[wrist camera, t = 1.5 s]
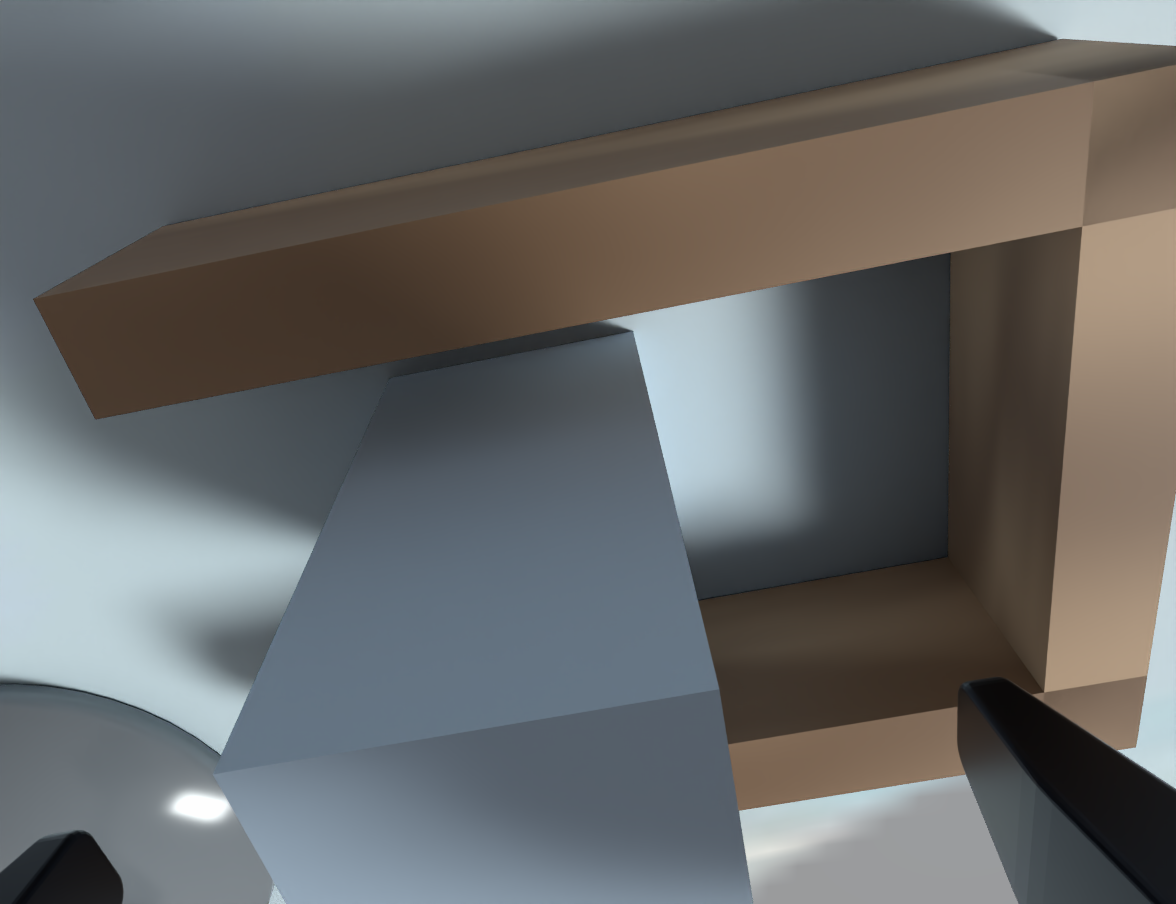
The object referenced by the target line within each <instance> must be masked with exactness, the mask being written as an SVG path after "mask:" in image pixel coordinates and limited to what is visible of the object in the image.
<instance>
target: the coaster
mask: <svg viewBox="0 0 1176 904" xmlns="http://www.w3.org/2000/svg"><path fill="white" fill-rule="evenodd" d="M220 757H221V756H220V755H219V754H217V753H216V752H215V751H213V750H212V749H210V748H209V747H208V746H206V745H205V744H204V743H202V742H201V741H199V740H198V739H197V738H195V737H193V736H191V735H190V734H188V733H186V732H185V731H183V730H181V729H179V728H178V727H176V726H174V725H172V724H171V723H168V722H166V721H164V720H162V719H160V718H158V717H155V716H153V715H151V714H149V713H147V712H144V711H142V710H139V709H136V708H134V707H131V706H128V705H125V704H122V703H119V702H117V701H114V700H110V699H106V698H103V697H99V696H95V695H91V694H87V693H83V692H78V691H72V690H66V689H60V688H54V687H47V686H34V685H20V684H5V685H0V872H1V871H2V870H3V869H5V868H6V867H7V866H8V865H9V864H10V863H12V862H13V861H14V860H15V859H16V858H17V857H18V856H20V855H21V854H22V853H23V852H24V851H25V850H26V849H28V848H29V847H30V846H31V845H32V844H33V843H35V842H36V841H37V840H38V839H40V838H42V837H44V836H47V835H50V834H55V833H61V832H67V831H73V830H84V831H86V832H88V833H90V834H91V835H92V836H93V837H94V839H95V840H96V841H97V843H98V844H99V846H100V847H101V849H102V850H103V852H104V853H105V854H106V856H107V857H108V859H109V860H110V862H111V863H112V865H113V866H114V867H115V869H116V870H117V872H118V873H119V875H120V877H121V879H122V882H123V889H124V895H123V904H268V903H269V900H270V897H271V894H272V891H273V888H274V884H275V883H274V881H273V879H272V878H271V876H270V874H269V872H268V871H267V869H266V867H265V865H264V864H263V862H262V860H261V858H260V857H259V855H258V853H257V851H256V850H255V848H254V846H253V844H252V843H251V841H250V839H249V837H248V836H247V834H246V832H245V830H244V828H243V827H242V825H241V823H240V821H239V820H238V818H237V816H236V814H235V813H234V811H233V809H232V807H231V806H230V804H229V802H228V800H227V799H226V797H225V795H224V793H223V792H222V790H221V788H220V786H219V785H218V783H217V781H216V779H215V778H214V776H213V773H214V771H215V768H216V766H217V764H218V762H219V759H220Z"/></svg>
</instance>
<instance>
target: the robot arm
mask: <svg viewBox="0 0 1176 904" xmlns="http://www.w3.org/2000/svg"><path fill="white" fill-rule="evenodd" d="M957 746H958V752H959V756H960V760H961V763H962V766H963V768H964V771H965V773H966V776H967V778H968V781H969V783H970V786H971V788H972V791H973V793H974V796H975V798H976V800H977V803H978V805H979V808H980V810H981V813H982V815H983V818H984V820H985V823H986V825H987V828H988V830H989V833H990V835H991V838H992V840H993V842H994V845H995V847H996V850H997V852H998V854H999V857H1000V860H1001V862H1002V864H1003V867H1004V869H1005V872H1006V874H1007V877H1008V879H1009V882H1010V884H1011V887H1012V889H1013V892H1014V894H1015V896H1016V899H1017V901H1018V903H1019V904H1176V789H1175V788H1174V787H1172V786H1170V785H1169V784H1167V783H1166V782H1164V781H1163V780H1161V779H1160V778H1158V777H1157V776H1155V775H1154V774H1152V773H1151V772H1149V771H1148V770H1146V769H1145V768H1143V767H1142V766H1140V765H1138V764H1137V763H1135V762H1134V761H1132V760H1131V759H1129V758H1128V757H1126V756H1125V755H1123V754H1122V753H1120V752H1119V751H1117V750H1116V749H1114V748H1113V747H1111V746H1110V745H1108V744H1106V743H1105V742H1103V741H1102V740H1100V739H1099V738H1097V737H1096V736H1094V735H1093V734H1091V733H1090V732H1088V731H1087V730H1085V729H1084V728H1082V727H1081V726H1079V725H1077V724H1076V723H1074V722H1073V721H1071V720H1070V719H1068V718H1067V717H1065V716H1064V715H1062V714H1061V713H1059V712H1058V711H1056V710H1055V709H1053V708H1052V707H1050V706H1049V705H1047V704H1045V703H1044V702H1042V701H1041V700H1039V699H1038V698H1036V697H1035V696H1033V695H1032V694H1030V693H1029V692H1027V691H1026V690H1024V689H1023V688H1021V687H1020V686H1018V685H1017V684H1015V683H1013V682H1012V681H1010V680H1008V679H1006V678H1003V677H990V678H984V679H978V680H972V681H966V682H964V683H962V684H961V685H960V687H959V690H958V707H957ZM123 895H124V889H123V882H122V879H121V877H120V875H119V873H118V872H117V870H116V869H115V867H114V866H113V865H112V863H111V862H110V860H109V859H108V857H107V856H106V854H105V853H104V852H103V850H102V849H101V847H100V846H99V844H98V843H97V841H96V840H95V839H94V837H93V836H92V835H91V834H90V833H88V832H86V831H84V830H73V831H67V832H61V833H55V834H50V835H47V836H44V837H42V838H40V839H38V840H37V841H36V842H35V843H33V844H32V845H31V846H30V847H29V848H28V849H26V850H25V851H24V852H23V853H22V854H21V855H20V856H18V857H17V858H16V859H15V860H14V861H13V862H12V863H10V864H9V865H8V866H7V867H6V868H5V869H3V870H2V871H1V872H0V904H123Z"/></svg>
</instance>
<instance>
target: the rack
mask: <svg viewBox="0 0 1176 904" xmlns="http://www.w3.org/2000/svg"><path fill="white" fill-rule="evenodd" d="M950 252H951V257H950V366H949V474H948V557H946V558H940V559H934V560H929V561H923V562H917V563H911V564H906V565H900V566H894V567H889V568H883V569H877V570H871V571H866V572H860V573H854V574H848V575H843V576H837V577H831V578H826V579H820V580H814V581H808V582H803V583H797V584H791V585H785V586H780V587H774V588H768V589H763V590H757V591H751V592H745V593H740V594H734V595H728V596H723V597H717V598H711V599H705V600H700V601H698V603H699V607H700V611H701V615H702V620H703V624H704V628H705V632H706V636H707V640H708V644H709V649H710V653H711V657H712V661H713V665H714V669H715V673H716V678H717V682H718V686H719V691H720V697H721V703H722V709H723V716H724V722H725V728H726V735H727V741H728V747H729V753H730V760H731V766H732V772H733V779H734V785H735V791H736V798H737V804H738V810H739V811H740V810H746V809H752V808H759V807H765V806H771V805H777V804H784V803H790V802H796V801H802V800H809V799H815V798H821V797H827V796H834V795H840V794H846V793H853V792H859V791H865V790H871V789H878V788H884V787H890V786H896V785H903V784H909V783H915V782H921V781H928V780H934V779H940V778H946V777H953V776H959V775H965V774H966V773H965V771H964V768H963V766H962V763H961V760H960V756H959V752H958V746H957V707H958V690H959V687H960V685H961V684H962V683H964V682H966V681H972V680H978V679H984V678H990V677H1003V678H1006V679H1008V680H1010V681H1012V682H1013V683H1015V684H1017V685H1018V686H1020V687H1021V688H1023V689H1024V690H1026V691H1027V692H1029V693H1030V694H1032V695H1033V696H1035V697H1036V698H1038V699H1039V700H1041V701H1042V702H1044V703H1045V704H1047V705H1049V706H1050V707H1052V708H1053V709H1055V710H1056V711H1058V712H1059V713H1061V714H1062V715H1064V716H1065V717H1067V718H1068V719H1070V720H1071V721H1073V722H1074V723H1076V724H1077V725H1079V726H1081V727H1082V728H1084V729H1085V730H1087V731H1088V732H1090V733H1091V734H1093V735H1094V736H1096V737H1097V738H1099V739H1100V740H1102V741H1103V742H1105V743H1106V744H1108V745H1110V746H1111V747H1113V748H1114V749H1116V750H1122V749H1128V748H1134V747H1136V744H1137V737H1138V731H1139V725H1140V718H1141V712H1142V705H1143V699H1144V693H1145V686H1146V680H1147V673H1148V667H1149V661H1150V654H1151V648H1152V641H1153V635H1154V629H1155V622H1156V616H1157V609H1158V603H1159V597H1160V590H1161V584H1162V577H1163V571H1164V565H1165V558H1166V552H1167V545H1168V539H1169V533H1170V526H1171V520H1172V513H1173V507H1174V501H1175V494H1176V46H1166V45H1150V44H1135V43H1119V42H1103V41H1087V40H1072V39H1059V40H1054V41H1049V42H1045V43H1040V44H1035V45H1030V46H1025V47H1021V48H1016V49H1011V50H1006V51H1001V52H997V53H992V54H987V55H982V56H977V57H973V58H968V59H963V60H958V61H953V62H949V63H944V64H939V65H934V66H929V67H925V68H920V69H915V70H910V71H905V72H901V73H896V74H891V75H886V76H881V77H877V78H872V79H867V80H862V81H857V82H853V83H848V84H843V85H838V86H833V87H829V88H824V89H819V90H814V91H809V92H805V93H800V94H795V95H790V96H785V97H781V98H776V99H771V100H766V101H761V102H757V103H752V104H747V105H742V106H737V107H733V108H728V109H723V110H718V111H713V112H709V113H704V114H699V115H694V116H689V117H685V118H680V119H675V120H670V121H665V122H661V123H656V124H651V125H646V126H641V127H637V128H632V129H627V130H622V131H618V132H613V133H608V134H603V135H598V136H594V137H589V138H584V139H579V140H574V141H570V142H565V143H560V144H555V145H550V146H546V147H541V148H536V149H531V150H526V151H522V152H517V153H512V154H507V155H502V156H498V157H493V158H488V159H483V160H478V161H474V162H469V163H464V164H459V165H454V166H450V167H445V168H440V169H435V170H430V171H426V172H421V173H416V174H411V175H406V176H402V177H397V178H392V179H387V180H382V181H378V182H373V183H368V184H363V185H358V186H354V187H349V188H344V189H339V190H334V191H330V192H325V193H320V194H315V195H310V196H306V197H301V198H296V199H291V200H286V201H282V202H277V203H272V204H267V205H262V206H258V207H253V208H248V209H243V210H238V211H234V212H229V213H224V214H219V215H214V216H210V217H205V218H200V219H195V220H191V221H186V222H181V223H176V224H171V225H167V226H163V227H161V228H159V229H157V230H155V231H154V232H152V233H150V234H148V235H147V236H145V237H143V238H141V239H139V240H138V241H136V242H134V243H132V244H130V245H129V246H127V247H125V248H123V249H122V250H120V251H118V252H116V253H114V254H113V255H111V256H109V257H107V258H105V259H104V260H102V261H100V262H98V263H97V264H95V265H93V266H91V267H89V268H88V269H86V270H84V271H82V272H80V273H79V274H77V275H75V276H73V277H72V278H70V279H68V280H66V281H64V282H63V283H61V284H59V285H57V286H56V287H54V288H52V289H50V290H48V291H47V292H45V293H43V294H41V295H39V296H38V297H36V298H34V299H33V300H34V302H35V304H36V306H37V308H38V310H39V312H40V313H41V315H42V317H43V319H44V321H45V323H46V325H47V327H48V329H49V331H50V333H51V335H52V337H53V339H54V340H55V342H56V344H57V346H58V348H59V350H60V352H61V354H62V356H63V358H64V360H65V362H66V364H67V366H68V368H69V369H70V371H71V373H72V375H73V377H74V379H75V381H76V383H77V385H78V387H79V389H80V391H81V393H82V395H83V396H84V398H85V400H86V402H87V404H88V406H89V408H90V410H91V412H92V414H93V416H94V418H95V419H100V418H106V417H111V416H116V415H121V414H126V413H131V412H136V411H141V410H147V409H152V408H157V407H162V406H167V405H172V404H177V403H182V402H187V401H193V400H198V399H203V398H208V397H213V396H218V395H223V394H228V393H234V392H239V391H244V390H249V389H254V388H259V387H264V386H269V385H274V384H280V383H285V382H290V381H295V380H300V379H305V378H310V377H315V376H320V375H326V374H331V373H336V372H341V371H346V370H351V369H356V368H361V367H367V366H372V365H377V364H382V363H387V362H392V361H397V360H402V359H407V358H413V357H418V356H423V355H428V354H433V353H438V352H443V351H448V350H453V349H459V348H464V347H469V346H474V345H479V344H484V343H489V342H494V341H500V340H505V339H510V338H515V337H520V336H525V335H530V334H535V333H540V332H546V331H551V330H556V329H561V328H566V327H571V326H576V325H581V324H587V323H592V322H597V321H602V320H607V319H612V318H617V317H622V316H627V315H633V314H638V313H643V312H648V311H653V310H658V309H663V308H668V307H673V306H679V305H684V304H689V303H694V302H699V301H704V300H709V299H714V298H720V297H725V296H730V295H735V294H740V293H745V292H750V291H755V290H760V289H766V288H771V287H776V286H781V285H786V284H791V283H796V282H801V281H807V280H812V279H817V278H822V277H827V276H832V275H837V274H842V273H847V272H853V271H858V270H863V269H868V268H873V267H878V266H883V265H888V264H893V263H899V262H904V261H909V260H914V259H919V258H924V257H929V256H934V255H940V254H945V253H950Z"/></svg>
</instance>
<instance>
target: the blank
mask: <svg viewBox="0 0 1176 904" xmlns="http://www.w3.org/2000/svg"><path fill="white" fill-rule="evenodd" d="M213 776H214V778H215V779H216V781H217V783H218V785H219V786H220V788H221V790H222V792H223V793H224V795H225V797H226V799H227V800H228V802H229V804H230V806H231V807H232V809H233V811H234V813H235V814H236V816H237V818H238V820H239V821H240V823H241V825H242V827H243V828H244V830H245V832H246V834H247V836H248V837H249V839H250V841H251V843H252V844H253V846H254V848H255V850H256V851H257V853H258V855H259V857H260V858H261V860H262V862H263V864H264V865H265V867H266V869H267V871H268V872H269V874H270V876H271V878H272V879H273V881H274V883H275V885H276V886H277V888H278V890H279V892H280V894H281V895H282V897H283V899H284V901H285V902H286V904H753V898H752V892H751V886H750V879H749V873H748V867H747V861H746V854H745V848H744V842H743V835H742V829H741V823H740V816H739V810H738V804H737V798H736V791H735V785H734V779H733V772H732V766H731V760H730V753H729V747H728V741H727V735H726V728H725V722H724V716H723V709H722V703H721V697H720V691H719V686H718V682H717V678H716V673H715V669H714V665H713V661H712V657H711V653H710V649H709V644H708V640H707V636H706V632H705V628H704V624H703V620H702V615H701V611H700V607H699V603H698V599H697V595H696V591H695V586H694V582H693V578H692V574H691V570H690V566H689V562H688V557H687V553H686V549H685V545H684V541H683V537H682V533H681V528H680V524H679V520H678V516H677V512H676V508H675V504H674V499H673V495H672V491H671V487H670V483H669V479H668V475H667V470H666V466H665V462H664V458H663V454H662V450H661V446H660V441H659V437H658V433H657V429H656V425H655V421H654V416H653V412H652V408H651V404H650V400H649V396H648V392H647V387H646V383H645V379H644V375H643V371H642V367H641V363H640V358H639V354H638V350H637V346H636V342H635V338H634V334H633V331H631V332H626V333H621V334H615V335H610V336H605V337H600V338H595V339H590V340H585V341H579V342H574V343H569V344H564V345H559V346H554V347H548V348H543V349H538V350H533V351H528V352H523V353H518V354H512V355H507V356H502V357H497V358H492V359H487V360H482V361H476V362H471V363H466V364H461V365H456V366H451V367H445V368H440V369H435V370H430V371H425V372H420V373H415V374H409V375H404V376H399V377H394V378H389V381H388V383H387V385H386V387H385V389H384V392H383V394H382V396H381V398H380V401H379V403H378V405H377V407H376V410H375V412H374V414H373V416H372V419H371V421H370V423H369V425H368V428H367V430H366V432H365V434H364V437H363V439H362V441H361V443H360V446H359V448H358V450H357V452H356V455H355V457H354V459H353V461H352V463H351V466H350V468H349V470H348V472H347V475H346V477H345V479H344V481H343V484H342V486H341V488H340V490H339V493H338V495H337V497H336V499H335V502H334V504H333V506H332V508H331V511H330V513H329V515H328V517H327V520H326V522H325V524H324V526H323V528H322V531H321V533H320V535H319V537H318V540H317V542H316V544H315V546H314V549H313V551H312V553H311V555H310V558H309V560H308V562H307V564H306V567H305V569H304V571H303V573H302V576H301V578H300V580H299V582H298V585H297V587H296V589H295V591H294V593H293V596H292V598H291V600H290V602H289V605H288V607H287V609H286V611H285V614H284V616H283V618H282V620H281V623H280V625H279V627H278V629H277V632H276V634H275V636H274V638H273V641H272V643H271V645H270V647H269V650H268V652H267V654H266V656H265V658H264V661H263V663H262V665H261V667H260V670H259V672H258V674H257V676H256V679H255V681H254V683H253V685H252V688H251V690H250V692H249V694H248V697H247V699H246V701H245V703H244V706H243V708H242V710H241V712H240V715H239V717H238V719H237V721H236V723H235V726H234V728H233V730H232V732H231V735H230V737H229V739H228V741H227V744H226V746H225V748H224V750H223V753H222V755H221V757H220V759H219V762H218V764H217V766H216V768H215V771H214V773H213Z"/></svg>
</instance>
